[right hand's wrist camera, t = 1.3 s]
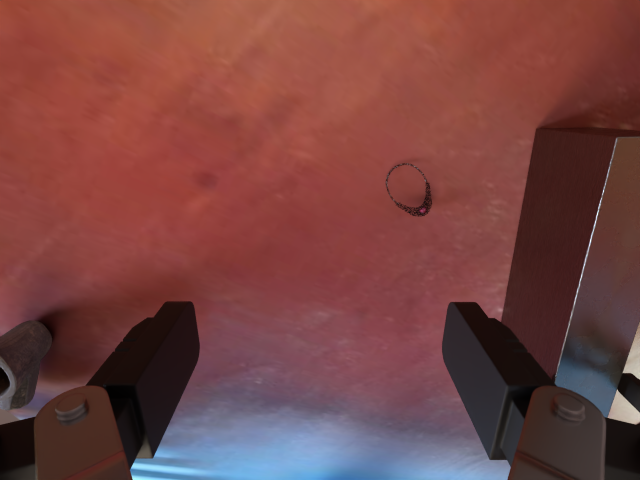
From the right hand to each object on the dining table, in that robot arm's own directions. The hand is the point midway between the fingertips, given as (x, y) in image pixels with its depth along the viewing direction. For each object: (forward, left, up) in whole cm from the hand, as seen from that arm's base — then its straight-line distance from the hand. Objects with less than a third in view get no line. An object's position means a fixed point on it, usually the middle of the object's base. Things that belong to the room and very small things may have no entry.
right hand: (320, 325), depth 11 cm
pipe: (+22, -37, -29) cm, 52 cm away
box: (+9, +25, -29) cm, 39 cm away
